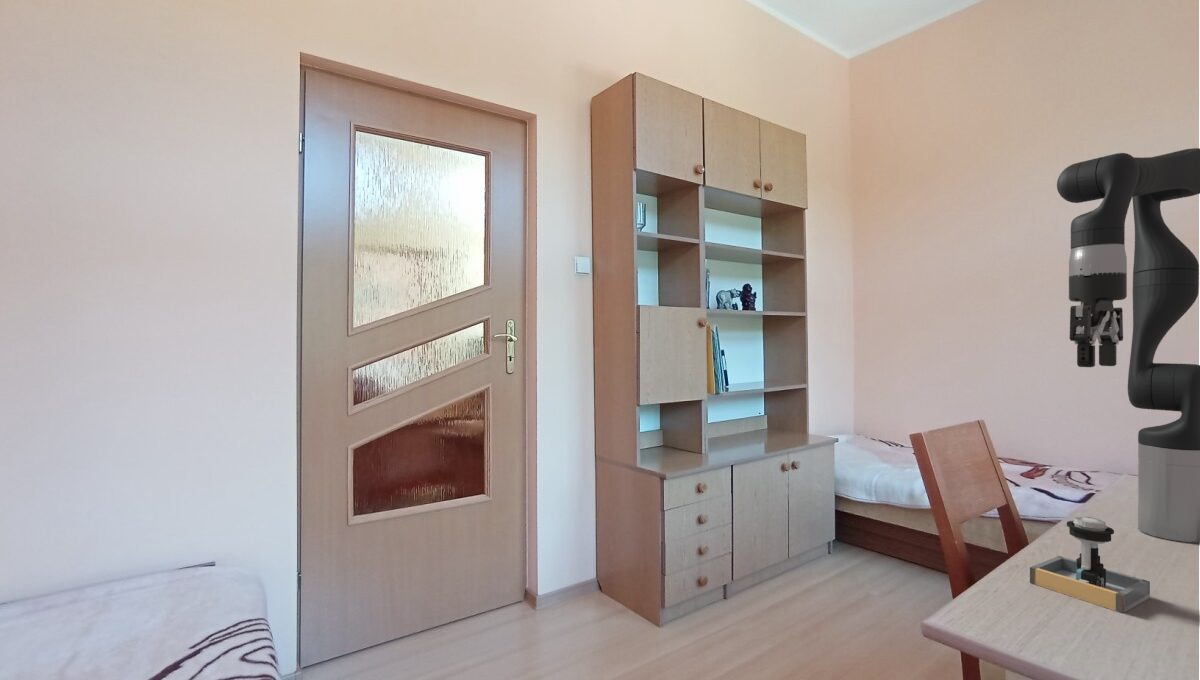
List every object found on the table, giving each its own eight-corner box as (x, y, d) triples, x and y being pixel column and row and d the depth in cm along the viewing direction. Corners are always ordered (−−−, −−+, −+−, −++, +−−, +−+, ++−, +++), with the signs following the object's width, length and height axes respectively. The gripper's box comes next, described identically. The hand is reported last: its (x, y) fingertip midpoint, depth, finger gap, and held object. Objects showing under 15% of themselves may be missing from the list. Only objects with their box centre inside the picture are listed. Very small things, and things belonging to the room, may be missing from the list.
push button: (1103, 600, 79) (1103, 529, 79) (1057, 586, 84) (1057, 519, 84) (1119, 589, 83) (1119, 521, 83) (1074, 576, 87) (1074, 512, 87)
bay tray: (1058, 570, 91) (1058, 555, 91) (1149, 597, 81) (1149, 581, 81) (1029, 582, 86) (1029, 567, 86) (1122, 613, 76) (1122, 595, 76)
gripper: (1088, 277, 103) (1088, 365, 103) (1051, 273, 96) (1051, 366, 96) (1142, 273, 97) (1142, 366, 97) (1107, 268, 90) (1107, 368, 90)
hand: (1097, 366), depth 97 cm, fingers open, 8 cm apart
